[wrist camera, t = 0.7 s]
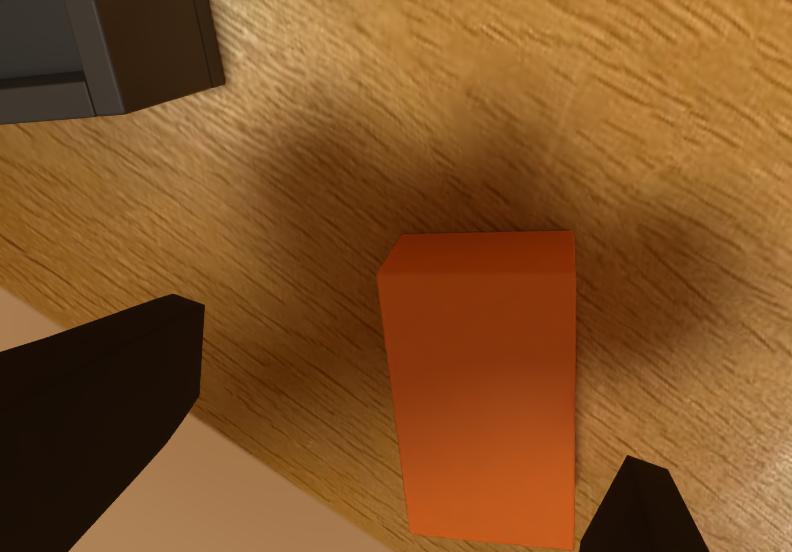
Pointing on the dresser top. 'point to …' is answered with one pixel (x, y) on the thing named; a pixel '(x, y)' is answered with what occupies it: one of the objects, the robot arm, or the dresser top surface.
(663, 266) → the dresser top surface
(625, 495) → the robot arm
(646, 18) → the dresser top surface
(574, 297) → the block
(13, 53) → the storage bin
